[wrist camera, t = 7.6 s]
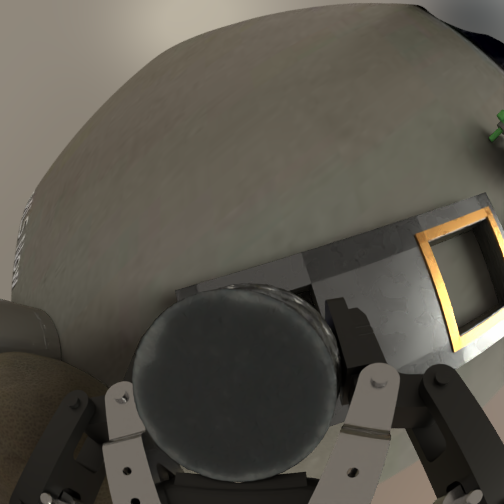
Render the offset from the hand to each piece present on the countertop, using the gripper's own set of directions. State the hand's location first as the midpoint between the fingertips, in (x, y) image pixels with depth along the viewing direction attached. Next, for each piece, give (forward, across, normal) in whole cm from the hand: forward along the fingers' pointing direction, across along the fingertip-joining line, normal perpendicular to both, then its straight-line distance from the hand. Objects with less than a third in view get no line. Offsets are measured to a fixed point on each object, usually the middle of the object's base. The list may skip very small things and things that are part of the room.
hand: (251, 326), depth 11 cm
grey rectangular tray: (+6, -9, +7) cm, 13 cm away
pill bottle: (+3, 0, +5) cm, 6 cm away
